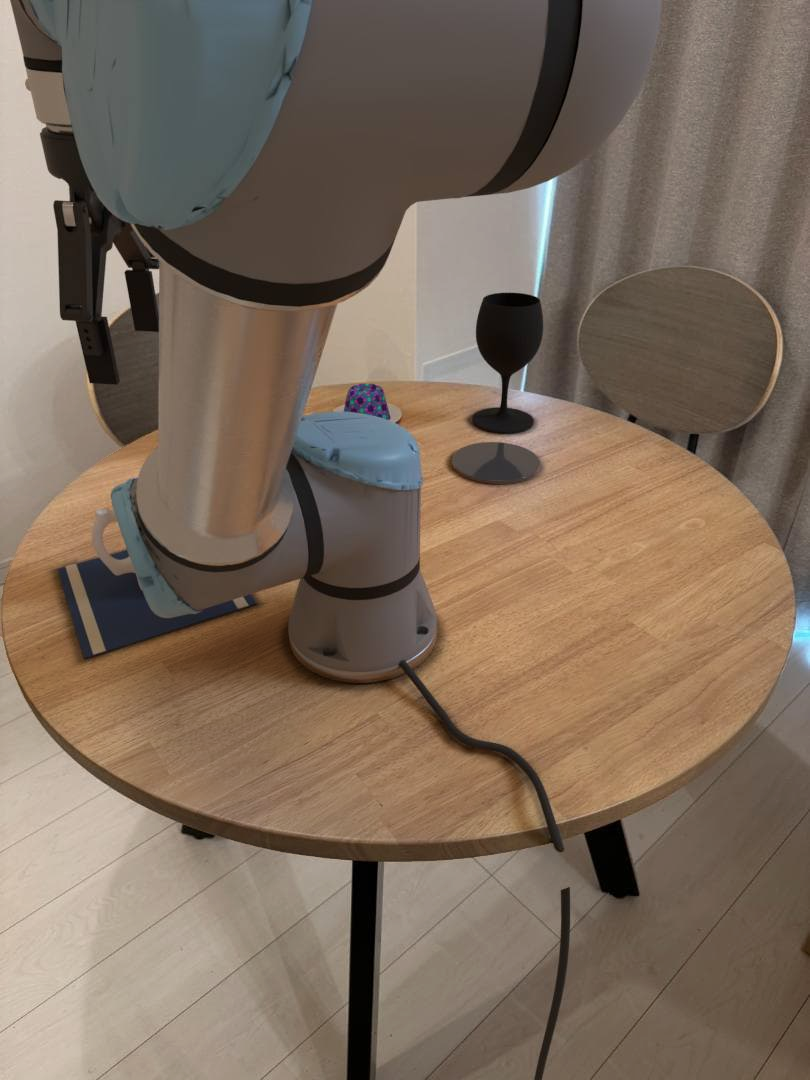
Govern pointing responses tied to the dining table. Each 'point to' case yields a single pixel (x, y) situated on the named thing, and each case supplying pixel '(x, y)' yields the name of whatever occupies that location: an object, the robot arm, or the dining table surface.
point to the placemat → (121, 608)
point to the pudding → (369, 402)
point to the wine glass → (507, 352)
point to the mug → (99, 525)
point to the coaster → (496, 463)
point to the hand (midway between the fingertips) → (128, 354)
